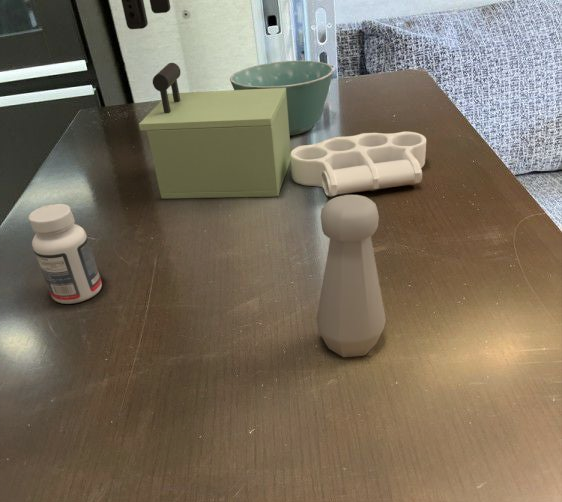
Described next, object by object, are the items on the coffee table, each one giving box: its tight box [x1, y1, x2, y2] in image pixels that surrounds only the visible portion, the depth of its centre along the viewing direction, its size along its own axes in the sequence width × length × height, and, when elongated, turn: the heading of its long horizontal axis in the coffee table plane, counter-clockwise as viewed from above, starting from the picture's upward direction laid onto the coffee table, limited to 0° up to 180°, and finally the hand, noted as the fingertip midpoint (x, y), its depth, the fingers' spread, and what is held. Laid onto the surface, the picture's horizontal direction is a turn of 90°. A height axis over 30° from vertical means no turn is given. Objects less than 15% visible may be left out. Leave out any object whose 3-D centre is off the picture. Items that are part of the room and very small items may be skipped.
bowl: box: [229, 60, 334, 136], centre depth 97 cm, size 16×16×8 cm
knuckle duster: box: [290, 131, 427, 198], centre depth 81 cm, size 3×18×15 cm
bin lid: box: [138, 62, 286, 131], centre depth 78 cm, size 16×13×5 cm
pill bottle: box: [28, 203, 103, 305], centre depth 62 cm, size 5×5×9 cm
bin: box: [146, 95, 292, 200], centre depth 82 cm, size 16×13×9 cm
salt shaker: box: [316, 194, 387, 358], centre depth 50 cm, size 6×6×13 cm
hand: (150, 20), depth 72 cm, fingers open, 8 cm apart
